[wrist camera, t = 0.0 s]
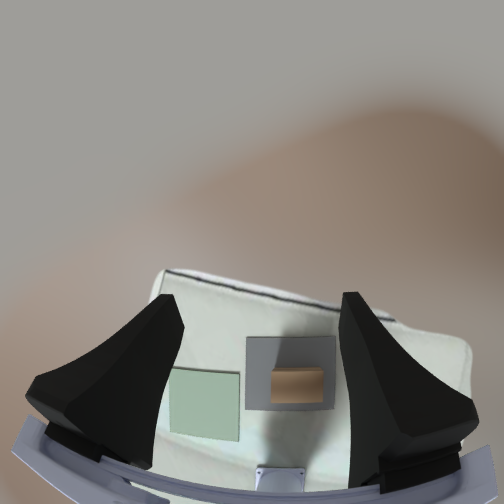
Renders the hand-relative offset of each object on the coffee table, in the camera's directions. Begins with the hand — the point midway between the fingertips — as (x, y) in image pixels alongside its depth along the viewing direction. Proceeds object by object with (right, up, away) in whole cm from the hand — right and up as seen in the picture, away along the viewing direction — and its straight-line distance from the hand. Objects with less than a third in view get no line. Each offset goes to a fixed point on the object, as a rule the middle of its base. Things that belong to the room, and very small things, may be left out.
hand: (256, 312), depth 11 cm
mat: (-8, -23, +28) cm, 37 cm away
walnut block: (+7, -17, +27) cm, 33 cm away
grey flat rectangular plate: (+6, -16, +28) cm, 33 cm away
